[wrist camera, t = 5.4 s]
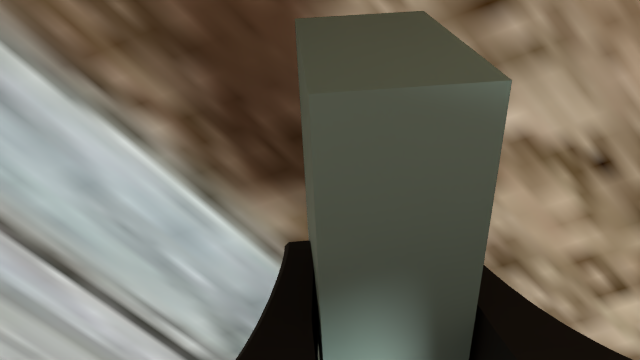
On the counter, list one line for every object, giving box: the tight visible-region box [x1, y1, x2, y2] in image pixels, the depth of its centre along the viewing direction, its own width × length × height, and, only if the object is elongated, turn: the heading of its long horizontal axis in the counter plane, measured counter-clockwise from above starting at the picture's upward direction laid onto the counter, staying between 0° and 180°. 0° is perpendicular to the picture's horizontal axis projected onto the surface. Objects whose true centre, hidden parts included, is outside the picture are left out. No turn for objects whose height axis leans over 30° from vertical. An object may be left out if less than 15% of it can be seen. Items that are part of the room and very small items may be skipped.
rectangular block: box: [295, 11, 512, 360], centre depth 12 cm, size 3×12×5 cm, turn 2°
